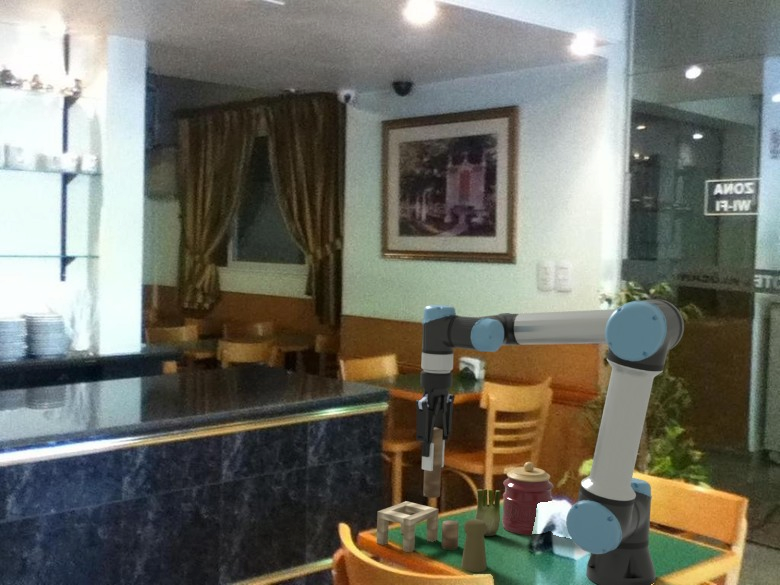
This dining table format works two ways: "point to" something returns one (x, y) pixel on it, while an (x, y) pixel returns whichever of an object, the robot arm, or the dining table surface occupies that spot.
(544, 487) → the canister
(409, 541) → the open square stand
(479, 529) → the olive tapered knobbed peg
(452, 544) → the short pin
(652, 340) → the robot arm
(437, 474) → the long pin
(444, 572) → the dining table surface
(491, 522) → the fennel bulb
